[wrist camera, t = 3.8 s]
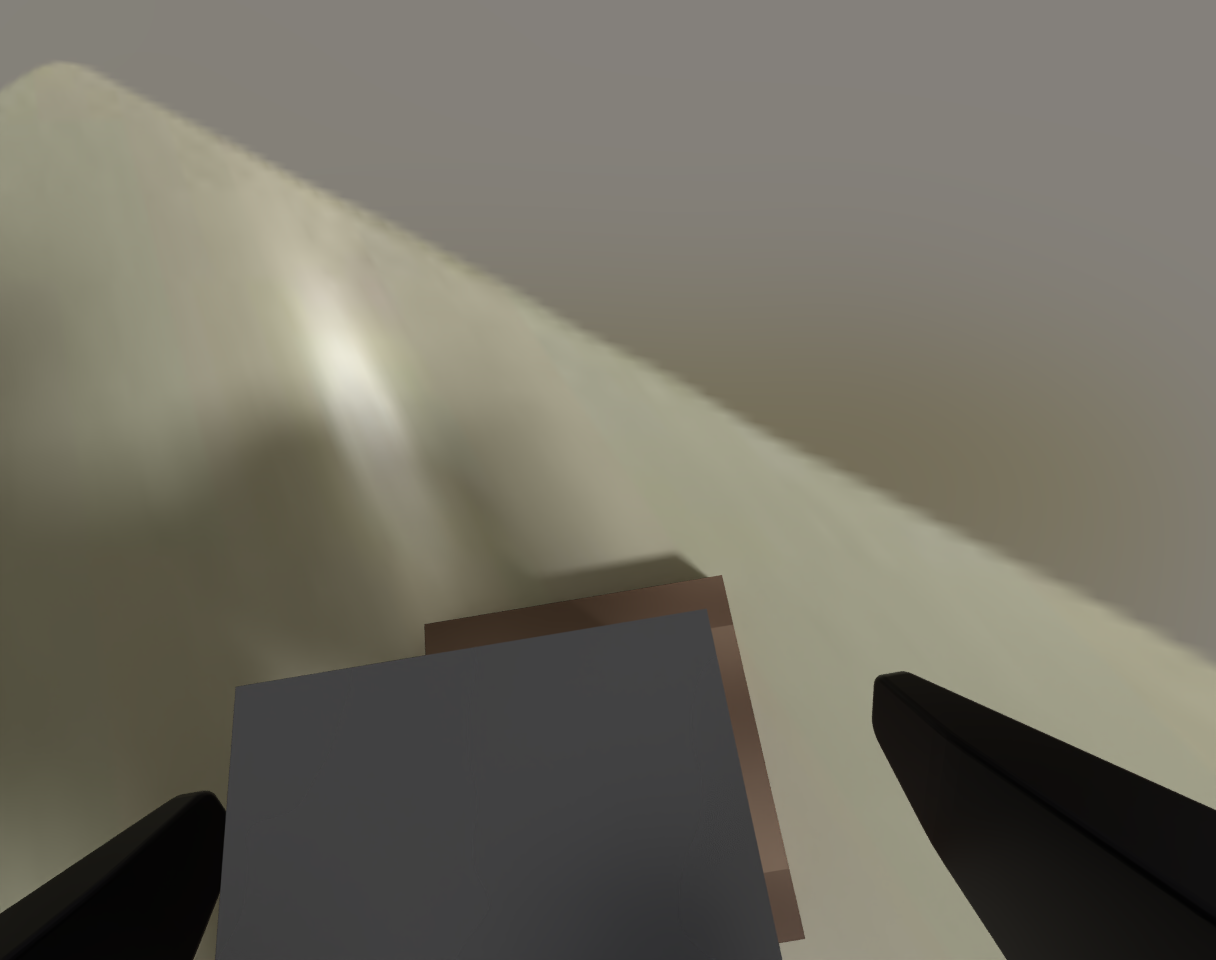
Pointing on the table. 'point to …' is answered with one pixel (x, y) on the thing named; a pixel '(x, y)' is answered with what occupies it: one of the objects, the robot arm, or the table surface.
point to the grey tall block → (497, 807)
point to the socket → (744, 727)
